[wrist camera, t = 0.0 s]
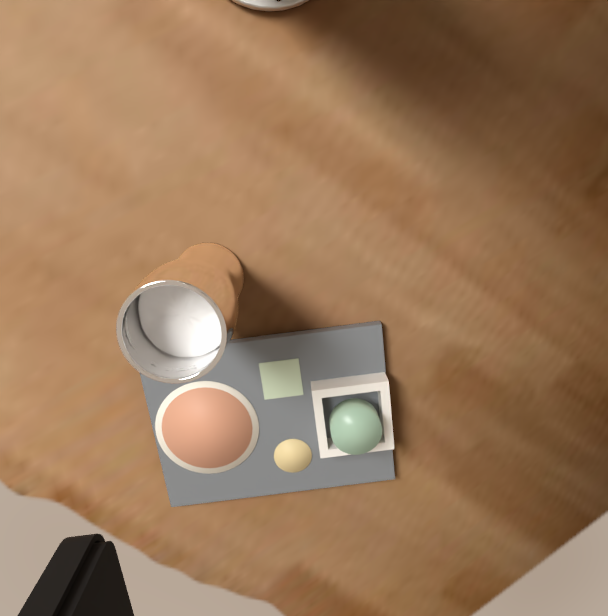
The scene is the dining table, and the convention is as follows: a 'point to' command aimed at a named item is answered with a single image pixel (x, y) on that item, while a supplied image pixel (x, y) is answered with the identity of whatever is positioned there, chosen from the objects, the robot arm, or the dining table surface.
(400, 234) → the dining table surface
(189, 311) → the beer glass
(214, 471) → the picture board
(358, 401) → the button
